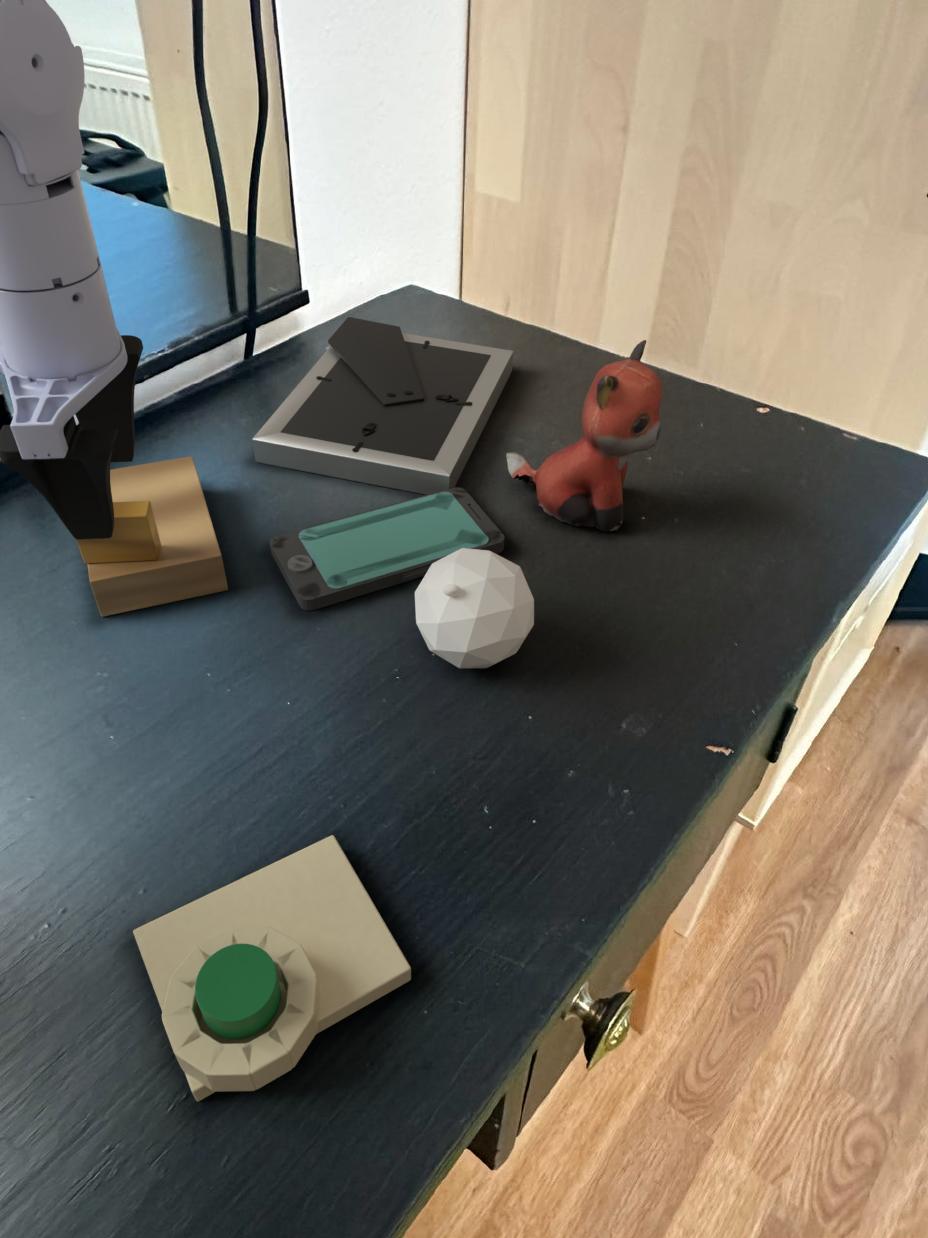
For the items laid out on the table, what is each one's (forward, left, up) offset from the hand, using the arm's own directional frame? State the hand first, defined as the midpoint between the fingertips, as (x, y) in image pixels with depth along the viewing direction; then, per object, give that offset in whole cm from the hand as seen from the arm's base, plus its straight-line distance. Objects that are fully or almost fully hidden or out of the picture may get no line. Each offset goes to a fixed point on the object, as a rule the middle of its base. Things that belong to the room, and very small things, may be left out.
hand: (105, 495), depth 53 cm
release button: (-4, -30, -5) cm, 31 cm away
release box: (-2, -28, -8) cm, 29 cm away
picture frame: (+26, +12, -8) cm, 29 cm away
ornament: (+17, -15, -8) cm, 24 cm away
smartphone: (+17, -4, -8) cm, 19 cm away
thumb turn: (0, 0, -5) cm, 5 cm away
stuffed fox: (+32, -5, -8) cm, 33 cm away
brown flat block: (+3, +4, -8) cm, 9 cm away
